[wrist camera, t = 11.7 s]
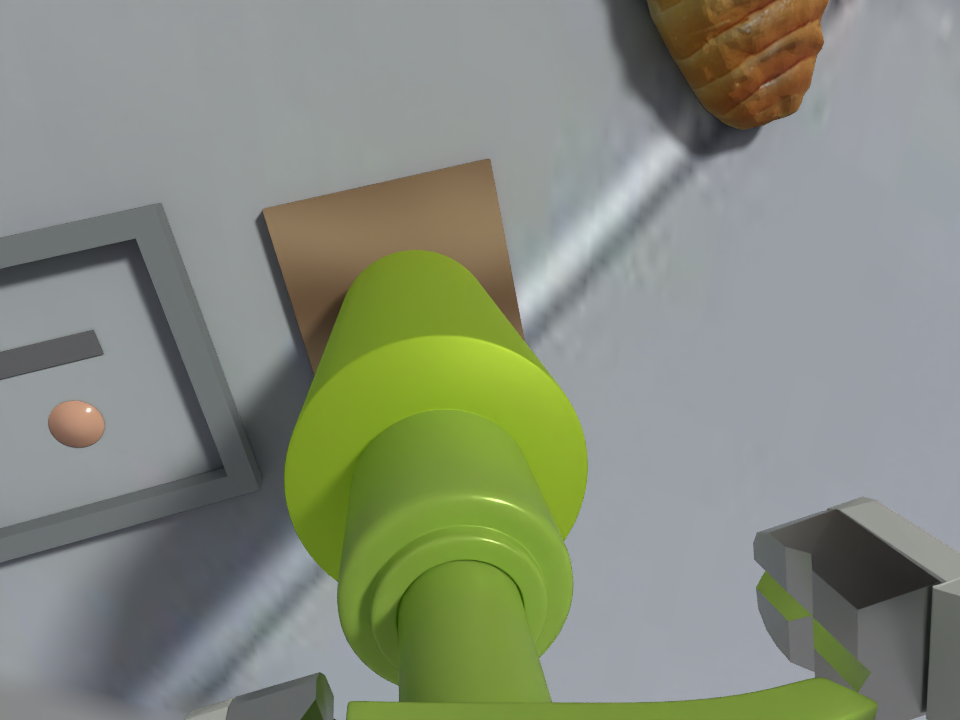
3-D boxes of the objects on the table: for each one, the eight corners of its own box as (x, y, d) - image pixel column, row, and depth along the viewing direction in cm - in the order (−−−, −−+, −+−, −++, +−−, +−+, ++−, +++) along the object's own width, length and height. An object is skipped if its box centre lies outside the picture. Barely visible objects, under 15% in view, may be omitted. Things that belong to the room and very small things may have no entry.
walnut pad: (263, 208, 24) (262, 209, 24) (487, 158, 25) (490, 158, 25) (335, 437, 28) (335, 442, 27) (530, 384, 29) (533, 387, 28)
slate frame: (-191, 279, 22) (-215, 284, 21) (161, 202, 24) (153, 204, 23) (-30, 559, 26) (-44, 574, 25) (262, 479, 28) (259, 490, 27)
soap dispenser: (509, 400, 26) (825, 1019, 7) (338, 394, 25) (162, 1102, 6) (524, 256, 24) (986, 558, 5) (341, 244, 23) (116, 562, 4)
